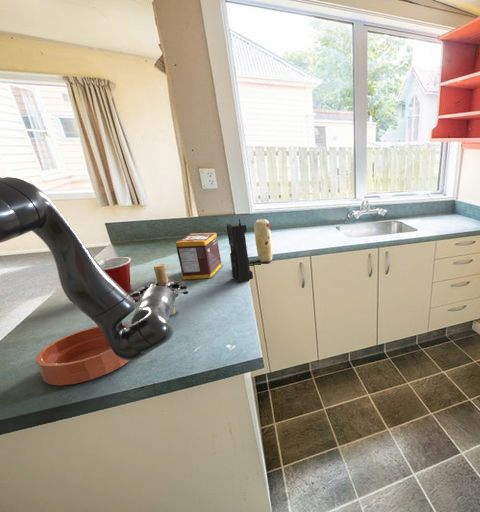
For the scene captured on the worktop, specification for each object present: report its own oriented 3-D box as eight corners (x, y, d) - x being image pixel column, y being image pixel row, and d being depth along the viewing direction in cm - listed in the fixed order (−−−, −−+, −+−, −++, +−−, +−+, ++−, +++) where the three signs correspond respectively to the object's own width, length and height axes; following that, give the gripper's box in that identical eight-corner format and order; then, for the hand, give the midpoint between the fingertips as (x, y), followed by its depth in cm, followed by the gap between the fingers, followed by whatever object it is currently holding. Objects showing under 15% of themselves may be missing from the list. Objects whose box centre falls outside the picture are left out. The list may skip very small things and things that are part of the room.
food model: (277, 261, 142) (272, 220, 136) (263, 264, 137) (258, 221, 131) (268, 256, 148) (264, 217, 142) (255, 259, 144) (249, 218, 138)
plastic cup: (90, 299, 101) (79, 266, 98) (118, 286, 112) (109, 256, 108) (121, 300, 101) (111, 267, 97) (146, 287, 111) (138, 257, 108)
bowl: (28, 398, 60) (18, 375, 58) (62, 353, 74) (55, 334, 72) (132, 372, 67) (125, 351, 66) (145, 335, 81) (140, 318, 80)
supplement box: (222, 265, 135) (216, 232, 130) (211, 278, 121) (204, 241, 116) (197, 267, 133) (190, 233, 128) (182, 279, 119) (174, 242, 114)
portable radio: (231, 277, 121) (221, 217, 114) (246, 274, 125) (237, 215, 118) (238, 283, 116) (228, 220, 108) (253, 279, 120) (245, 218, 112)
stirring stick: (164, 316, 90) (152, 267, 85) (165, 312, 93) (154, 264, 88) (175, 314, 92) (164, 265, 87) (176, 310, 94) (165, 263, 89)
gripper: (185, 287, 79) (189, 267, 94) (118, 297, 73) (133, 274, 87) (190, 311, 82) (193, 288, 96) (125, 324, 75) (139, 297, 90)
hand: (165, 282), depth 92 cm, fingers closed on stirring stick, 2 cm apart
